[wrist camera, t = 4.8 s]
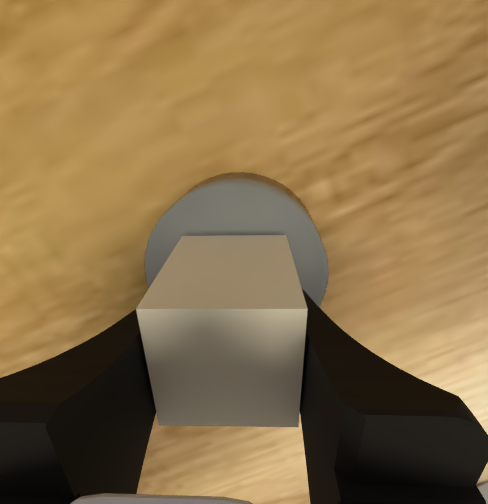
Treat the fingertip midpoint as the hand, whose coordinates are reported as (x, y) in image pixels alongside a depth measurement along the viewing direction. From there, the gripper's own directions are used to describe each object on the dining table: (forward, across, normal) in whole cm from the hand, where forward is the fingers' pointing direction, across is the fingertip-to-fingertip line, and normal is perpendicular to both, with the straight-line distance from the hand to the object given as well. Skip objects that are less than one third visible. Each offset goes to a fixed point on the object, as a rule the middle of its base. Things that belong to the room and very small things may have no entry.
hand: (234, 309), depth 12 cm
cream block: (+2, 0, 0) cm, 2 cm away
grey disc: (+6, 0, 0) cm, 6 cm away
